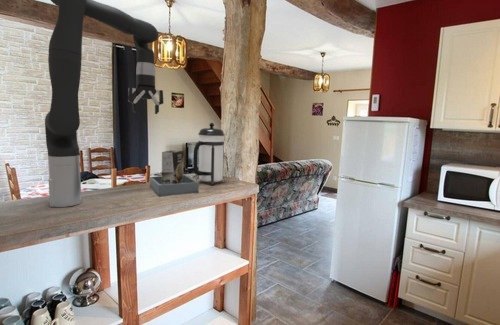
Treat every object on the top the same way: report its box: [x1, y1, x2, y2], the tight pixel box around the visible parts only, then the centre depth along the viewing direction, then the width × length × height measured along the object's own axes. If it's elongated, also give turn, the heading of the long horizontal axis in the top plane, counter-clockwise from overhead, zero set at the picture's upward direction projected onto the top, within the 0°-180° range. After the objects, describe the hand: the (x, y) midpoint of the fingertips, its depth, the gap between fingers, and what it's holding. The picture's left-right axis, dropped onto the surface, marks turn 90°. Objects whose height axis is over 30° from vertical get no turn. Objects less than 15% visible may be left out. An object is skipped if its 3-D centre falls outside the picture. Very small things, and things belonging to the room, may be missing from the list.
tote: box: [149, 174, 199, 197], centre depth 129 cm, size 17×19×4 cm
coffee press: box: [192, 122, 226, 186], centre depth 143 cm, size 17×16×30 cm
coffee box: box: [161, 150, 184, 185], centre depth 129 cm, size 9×6×16 cm
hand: (146, 113), depth 126 cm, fingers open, 8 cm apart
